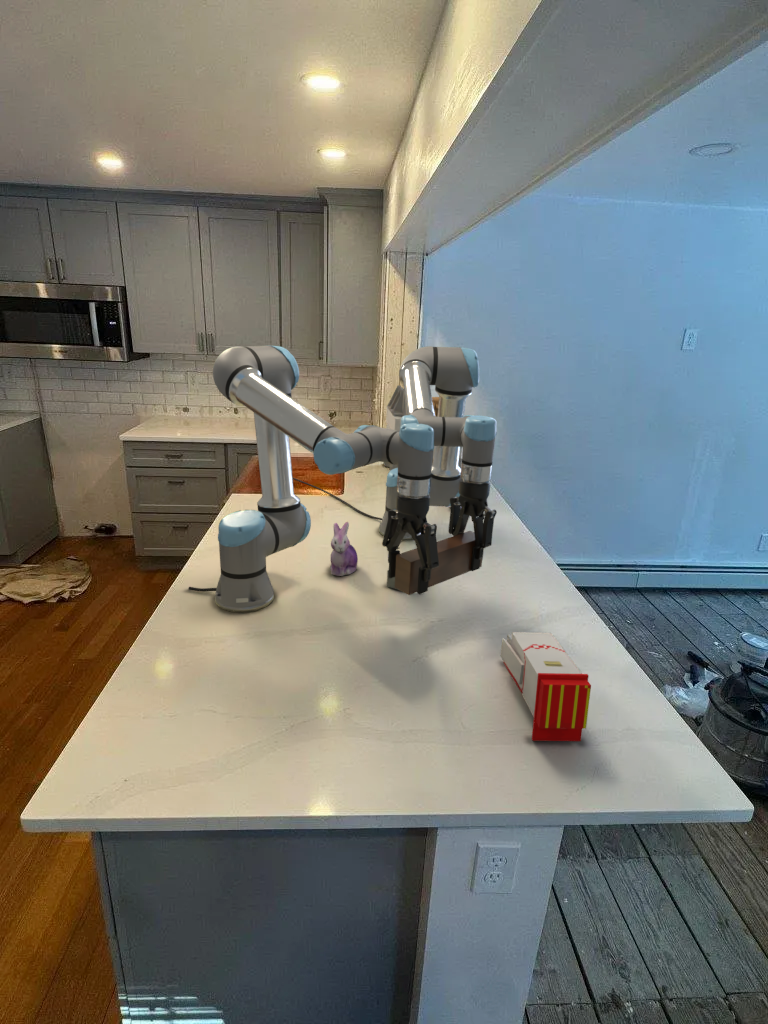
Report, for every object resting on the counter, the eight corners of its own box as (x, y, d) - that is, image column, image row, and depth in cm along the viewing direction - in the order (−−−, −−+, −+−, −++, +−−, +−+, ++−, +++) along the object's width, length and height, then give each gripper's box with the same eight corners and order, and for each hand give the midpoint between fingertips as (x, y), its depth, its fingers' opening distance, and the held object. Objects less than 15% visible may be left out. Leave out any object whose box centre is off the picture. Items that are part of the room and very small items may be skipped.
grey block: (386, 586, 162) (387, 570, 160) (394, 579, 166) (395, 564, 164) (402, 591, 160) (403, 575, 158) (410, 584, 164) (411, 568, 162)
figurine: (335, 579, 164) (336, 531, 159) (322, 565, 172) (322, 519, 167) (364, 574, 168) (366, 527, 163) (350, 560, 177) (351, 515, 172)
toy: (548, 616, 130) (600, 681, 101) (542, 669, 133) (592, 748, 104) (495, 615, 130) (533, 680, 101) (491, 669, 133) (526, 747, 103)
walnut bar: (408, 595, 132) (410, 562, 129) (394, 587, 135) (396, 554, 132) (481, 566, 148) (484, 536, 145) (467, 560, 151) (470, 530, 148)
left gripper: (369, 484, 132) (366, 571, 140) (436, 511, 116) (429, 607, 124) (393, 479, 137) (388, 563, 144) (461, 504, 121) (452, 597, 129)
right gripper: (438, 473, 144) (431, 557, 152) (494, 492, 131) (484, 582, 139) (458, 469, 148) (450, 550, 156) (514, 486, 136) (503, 574, 144)
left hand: (407, 584), depth 134 cm, fingers open, 9 cm apart
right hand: (466, 565), depth 148 cm, fingers closed on walnut bar, 5 cm apart
